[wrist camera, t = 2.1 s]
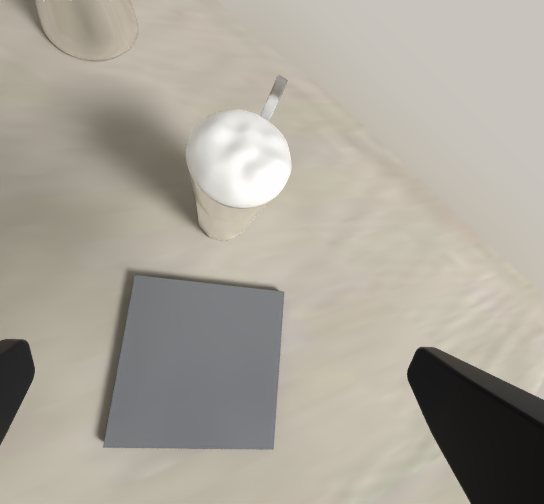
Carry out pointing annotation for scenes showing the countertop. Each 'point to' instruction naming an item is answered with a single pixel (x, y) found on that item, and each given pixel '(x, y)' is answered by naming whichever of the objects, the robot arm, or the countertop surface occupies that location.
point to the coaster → (197, 367)
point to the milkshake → (237, 166)
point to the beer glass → (89, 26)
